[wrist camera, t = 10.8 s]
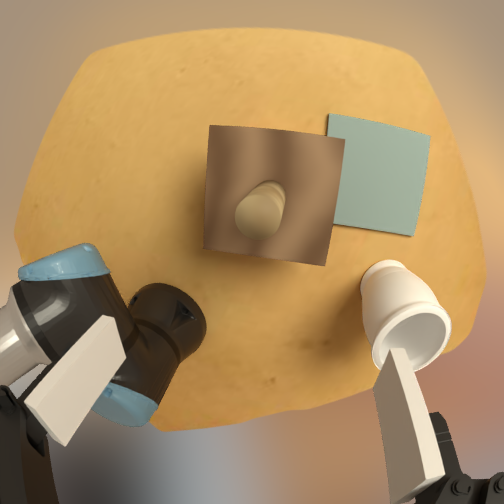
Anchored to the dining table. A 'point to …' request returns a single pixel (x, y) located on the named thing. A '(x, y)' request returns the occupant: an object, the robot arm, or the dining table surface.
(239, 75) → the dining table surface
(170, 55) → the dining table surface
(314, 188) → the lid
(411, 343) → the jar
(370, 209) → the mat
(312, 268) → the dining table surface
